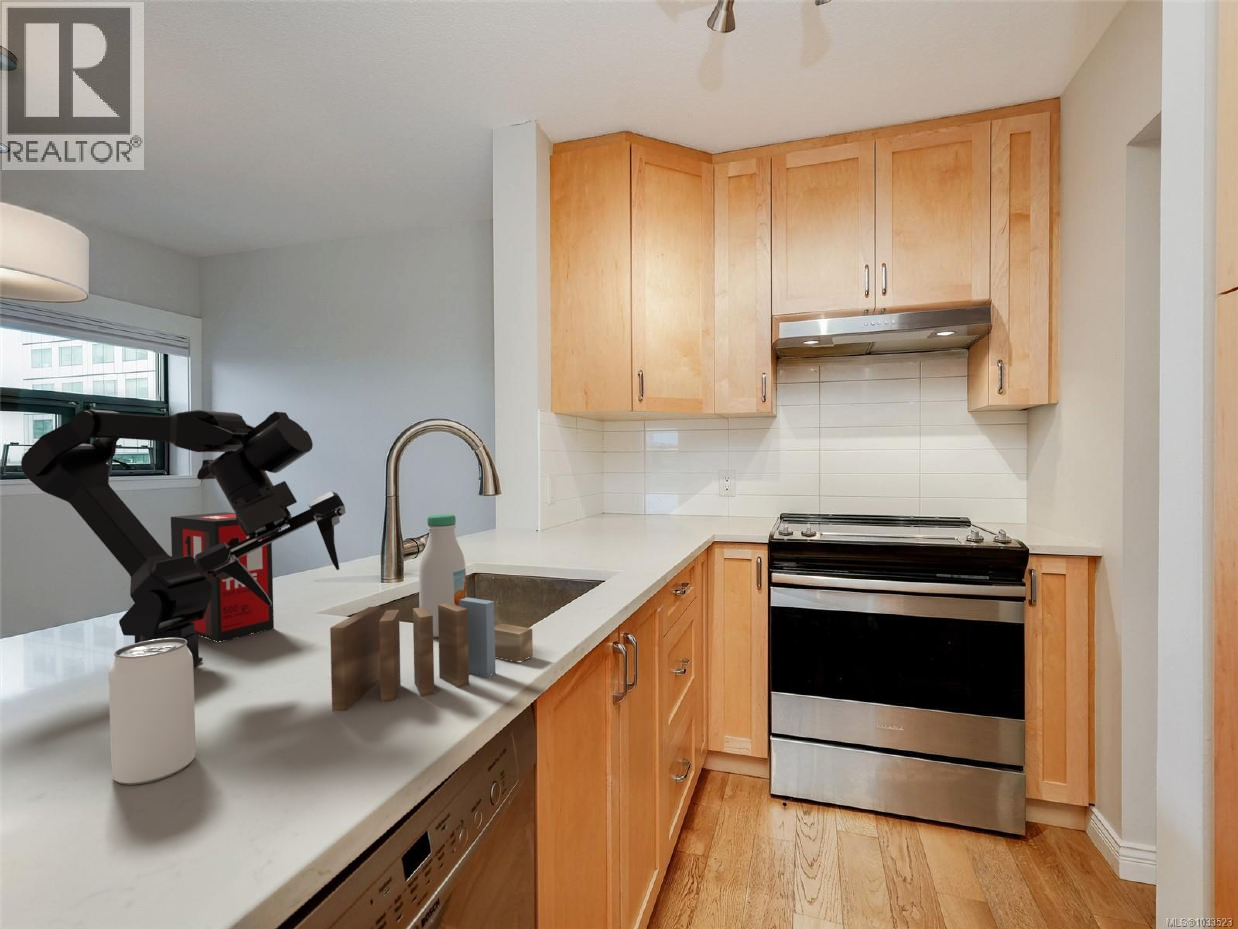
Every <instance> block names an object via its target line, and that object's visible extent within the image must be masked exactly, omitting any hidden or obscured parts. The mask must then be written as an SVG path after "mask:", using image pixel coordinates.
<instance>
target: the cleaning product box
mask: <svg viewBox="0 0 1238 929" xmlns="http://www.w3.org/2000/svg"><path fill="white" fill-rule="evenodd" d="M170 529H171V530H170V537H171V538H170V539H171V541H170V542H171V557H174V558H180V557H185V556H192V557H193V558H194V559H195V556H196V554H198V553H201V552H203V551H205V550H207V549H209V548H211V547H213V546H216V545H218V544H220V543H222V542H225V543H226V544H227V545H229V546H230V547H231V546H233V545H235V544H237V543H239V542H241V541H243V540H245V539H248V538H249V536H246V535H245V533H244V532H243V530H242V528H241V526H240V525H239V523H238V521H237V519H236V514H235V512H228V511H227V512H226V511H225V512H223V511H221V512H215V513H214V512H212V513H210V512H209V513H201V514H190V515H189V514H188V515H176V516H170ZM269 536H270V535H269ZM267 537H268V536H267ZM267 537H265V538H267ZM265 538H263V539H265ZM263 539H261V540H263ZM261 540H259V541H261ZM272 547H273V542H271V543H269V544H267V545H265V546H263V547H261V548H259V549H257V550H255V551H253V552H251V553H248V554H246V555H244V556H242V557H240V558H238V559H239V562H240V563H241V564H243V565H244V566H245V567H246V568H247V569H248V571H249V572H250V573H251V575H252V576H253V577H254V579H255V580H256V581H257V582H258V584H259V585H260V586H261V588H262V589H263V590H264V591H265V593H266V594H267V595H268V597H269V599H270V601H271V603H272V606H268V605H267V604H266V603H265V602H264V601H262V600H261V599H260V598H259V597H258V596H257V595H255V594H254V593H253V592H252V591H251V590H250V589H248V588H247V587H246V586H245V585H243V584H242V583H241V582H239V581H237V580H236V579H234V578H233V577H230V578H228V579H225V580H223V579H221V578H219V577H216V578H213V579H209V581H210V583H211V585H212V588H213V589H212V591H211V599H210V602H209V604H208V606H207V609H206V612H205V615H204V618H203V619H202V620H197V621H194V622H191V623H195V634H198V635H200V636H203V637H207V638H209V639H211V640H215V641H217V642H219V641H223V640H227V641H230V639H231V640H234V639H233V638H235V639H237V638H236V637H239V638H243V637H247V636H250V635H249V634H251V633H255V634H258V633H257V632H259V633H261V632H260V631H263V632H265V631H264V630H267V631H271V630H273V629H272V628H275V624H274V623H275V622H274V616H275V615H274V587H273V586H274V584H273V583H274V582H273V576H274V575H273V548H272ZM270 629H271V630H270ZM246 635H247V636H246ZM251 635H252V634H251ZM242 636H243V637H242ZM211 640H210V641H211ZM217 642H216V643H217ZM223 642H224V641H223ZM219 643H220V642H219Z"/></svg>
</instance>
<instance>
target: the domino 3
mask: <svg viewBox="0 0 1238 929" xmlns="http://www.w3.org/2000/svg"><path fill="white" fill-rule="evenodd" d="M412 620H413V621H412V629H413V630H412V632H413V636H412V637H413V670H414V671H413V679H414V686H415V687H416V689H417V691H418V693H419V695H420V697H426V696H430V695H431V696H432V695H435V669H434V667H435V664H434V663H435V662H434V661H435V660H434V659H435V658H434V654H435V653H434V637H433V615H432V614H431V613H430V612H429V610H428V609H427V608H426V607H420V606H419V607H414V608H412Z"/></svg>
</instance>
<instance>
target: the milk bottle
mask: <svg viewBox="0 0 1238 929" xmlns="http://www.w3.org/2000/svg"><path fill="white" fill-rule="evenodd" d="M426 521H427V529H428V533H429V534H428V538H427V542H426V544H425V547H424V549H423V551H422V554H421V556H420V560H419V566H418V568H419V570H418V571H419V572H418V592H419V594H418V597H419V599H418V600H419V601H418V602H419V605H418V606H419V608H420V607H426V608H427V609H428V610H429V612H430V613H431V614H432V615H433V638H439V629H438V605H439V604H444V603H452V604H454V605H457V606H459V600H461V599H464V598H467V574H466V573H467V572H466V571H467V570H466V561H465V557H464V554H463V550H462V549H461V546H460V545H459V543H458V540H457V538H456V533H455V529H456V522H457V520H456V515H454V514H433V515H429V516H427V520H426Z"/></svg>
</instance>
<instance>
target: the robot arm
mask: <svg viewBox="0 0 1238 929" xmlns="http://www.w3.org/2000/svg"><path fill="white" fill-rule="evenodd" d="M89 439H95V440H94V441H92V443H91V444H88V443H86V442H87V441H88V440H89ZM120 439H126V440H127V439H128V440H141V441H154V442H165V443H169V444H171V445H173V446H174V447H176V448H181V449H183V450H188V451H190V452H193V453H194V452H195V453H222V454H220V455H219V456H218V457H217V456H216V458H215V459H203V460H202V464H201V467H200V469H199V470H198V472H197V475H196V479H198V480H199V481H200V480H201V481H202V480H216V482H217V484H218V486H219V487H220V489H221V491H222V492H223V494H224V495H225V498H226V500H227V502H228V503H229V505H230V507H231V508H232V510H233V513H235V514H236V519H237V521H238V523H239V525H240V526H241V528H242V530H243V532H244V533H245V535H246V536H249V538H248V539H245V540H243V541H241V542H239V543H237V544H235V545H233V546H231V547H230V546H229V545H227V544H226V543H225V542H222V543H220V544H218V545H216V546H213V547H211V548H209V549H207V550H205V551H203V552H201V553H198V554H196V556H195V559H194V558H193V557H192V556H185V557H180V558H174V557H172V555H170V554H168V553H167V552H166V550H165V549H164V548H163V547H162V546H161V544H160V543H159V542H158V541H157V540H156V538H154V536H153V535H152V534H151V533H150V532H149V531H148V529H147V528H146V527H145V526H144V525H143V523H141V521H140V520H139V519H138V518H137V516H136V515H135V514H134V512H133V511H131V509H130V508H129V507H128V506H127V505H126V503H125V502H124V501H123V499H121V497H120V496H119V495H118V494H117V493H116V492H115V491H114V489H113V488H112V487H111V485H110V482H109V481H110V472H111V470H110V467H109V465H108V463H109V461H110V460H111V459H113V457H115V455H116V449H117V442H118V441H119V440H120ZM312 449H313V440H312V437H311V435H310V434H309V432H308V431H307V430H305V429H304V428H303V426H301V425H300V424H299V423H297V422H296V421H295V420H293V419H291V418H290V417H289V416H288V414H287V412H284V411H273V412H272V413H270V414H269V415H268V416H267V417H266V418H265V419H264V420H263V421H262V422H260V423H259V424H258V425H256V426H252V425H250V424H248V423H247V422H246V421H245V420H244V419H243V416H242V415H241V414H238V413H236V412H228V411H226V412H225V411H214V410H213V411H212V410H203V409H202V410H201V409H196V410H189V411H188V410H187V411H182V412H181V411H180V412H177V413H174V414H170V415H169V414H168V415H156V414H155V415H154V414H153V415H151V414H139V413H136V414H135V413H122V412H121V413H120V412H117V411H113V410H100V409H85V410H82V411H78V412H77V413H75V415H74V416H73V417H72V418H71V419H70V420H69V421H68V422H66V423H64V424H62V425H60V426H59V427H57V428H53V429H52V430H50V431H49V432H46V433H45V434H43V435H42V436H40V437H39V438H38V439H37V440H36V442H34V444H32V446H31V447H29V448H28V450H27V451H26V452H25V453H24V454H23V456H22V457H21V463H20V465H21V469H22V472H23V474H24V476H25V477H26V478H27V480H29V481H30V482H31V483H33V485H35V486H36V488H39V490H41V491H42V492H44V493H46V494H48V495H51V496H52V497H55V498H57V499H60V500H62V501H64V502H67V503H68V504H69V505H70V506H72V507H73V509H74V510H75V511H76V513H77V514H78V515H79V516H80V517H81V519H82V520H83V521H84V522H85V523H86V525H88V527H89V528H90V530H91V531H93V533H94V534H95V535H96V536H97V537H98V539H99V540H100V541H101V543H102V544H103V545H104V546H105V548H107V550H108V551H109V552H110V553H111V555H113V557H114V558H115V559H116V560H117V561H118V562H119V564H120V566H122V567H123V568H124V570H125V571H126V572H127V573H128V575H129V576H130V589H129V591H130V592H129V595H130V598H131V599H132V601H133V602H134V604H132V606H130V608H129V609H128V610H127V611H126V612H125V614H123V616H122V617H121V618H120V619H119V622H118V623H119V624H118V625H119V626H120V629H121V632H122V635H123V636H131V637H132V636H133V637H134V644H135V643H139V642H144V641H149V640H155V639H164V638H182V639H186V640H187V644H186V645H187V647H188V649H189V650H190V652H191V653H192V656H193V667H194V666H196V665H198V664H200V663H201V662H203V661H204V660H203V659H204V658H203V657H200V656H199V654H200V652H199V651H200V649H199V636H198V634H195V623H191V622H194V621H197V620H202V619H203V618H204V615H205V612H206V609H207V606H208V604H209V602H210V599H211V591H212V589H213V588H212V585H211V583H210V581H209V579H213V578H216V577H219V578H221V579H223V580H225V579H228V578H230V577H233V578H234V579H236V580H237V581H239V582H241V583H242V584H243V585H245V586H246V587H247V588H248V589H250V590H251V591H252V592H253V593H254V594H255V595H257V596H258V597H259V598H260V599H261V600H262V601H264V602H265V603H266V604H267V605H268V606H272V603H271V601H270V599H269V597H268V595H267V594H266V593H265V591H264V590H263V589H262V588H261V586H260V585H259V584H258V582H257V581H256V580H255V579H254V577H253V576H252V575H251V573H250V572H249V571H248V569H247V568H246V567H245V566H244V565H243V564H241V563H240V562H239V559H238V558H240V557H242V556H244V555H246V554H248V553H251V552H253V551H255V550H257V549H259V548H261V547H263V546H265V545H267V544H269V543H271V542H272V543H273V542H276V541H277V540H279V539H281V538H283V537H285V536H287V535H290V534H291V533H293V532H296V531H298V530H299V529H302V528H304V527H306V526H308V525H310V524H313V523H314V522H316V525H317V528H318V530H319V533H320V535H321V537H322V540H323V543H324V545H325V548H326V550H327V553H328V555H329V558H330V560H331V563H332V565H333V566H334V568H335V569H336V571H339V570H340V564H339V558H338V553H337V550H336V543H335V526H336V525H338V524H340V523H341V521H340V517H342V516H343V515H345V514H346V506H345V504H344V502H343V500H342V499H341V497H340V495H339V493H337V492H334V491H329V492H327V493H324V494H322V495H321V496H319V497H317V498H314V499H312V500H310V501H307V505H308V507H309V509H307V510H305V511H302V512H301V513H299V514H296V515H295V516H292V513H291V512H290V511H289V509H288V507H290V506H292V505H294V504H297V502H298V501H297V499H296V498H295V496H294V494H293V492H292V489H290V487H289V485H288V483H287V482H286V481H285V480H283V481H281V482H279V483H277V484H273V482H272V481H271V479H270V477H269V476H268V474H267V472H269V473H274V474H277V473H280V472H281V471H283V470H284V469H286V468H288V467H289V466H290V465H291V464H293V463H294V462H296V461H297V460H299V459H301V457H303V456H305V455H306V454H307V453H309V452H311V451H312ZM287 526H288V527H287ZM283 528H284V529H283ZM269 535H270V536H269ZM267 536H268V537H267ZM265 537H267V538H265ZM263 538H265V539H263ZM261 539H263V540H261ZM259 540H261V541H259Z"/></svg>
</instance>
